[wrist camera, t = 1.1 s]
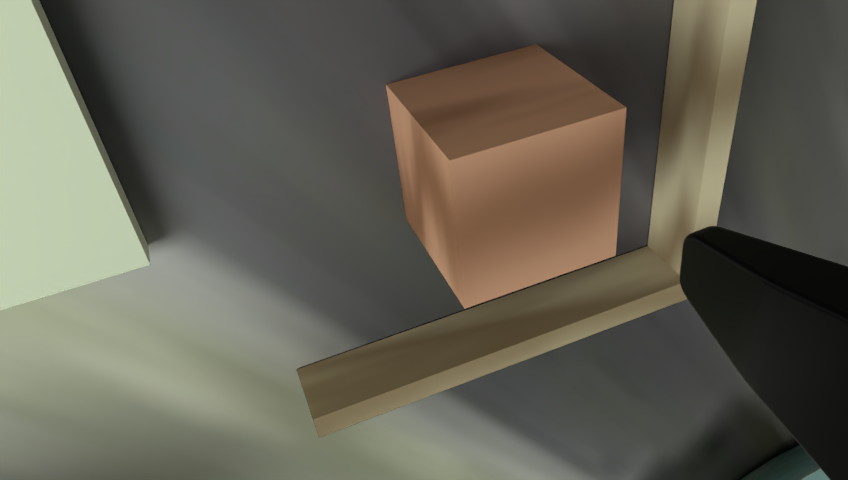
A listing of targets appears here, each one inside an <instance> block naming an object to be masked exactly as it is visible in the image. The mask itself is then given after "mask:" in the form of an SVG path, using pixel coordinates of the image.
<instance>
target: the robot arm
mask: <svg viewBox="0 0 848 480" xmlns="http://www.w3.org/2000/svg"><path fill="white" fill-rule="evenodd" d="M680 285H681V288H682V290H683V293H684V294H685V296H686V298H687V299H688V300H689V302H690V303H691V305H692V306H693V308H694V309H695V311H696V312H697V313H698V315H699V316H700V318H701V319H702V321H703V322H704V323H705V325H706V326H707V328H708V329H709V331H710V332H711V334H712V335H713V336H714V338H715V339H716V341H717V342H718V344H719V345H720V346H721V348H722V349H723V351H724V352H725V354H726V355H727V357H728V358H729V359H730V361H731V362H732V364H733V365H734V367H735V368H736V369H737V371H738V372H739V373H740V375H741V376H742V377H743V379H744V380H745V381H746V382H747V384H748V385H749V386H750V387H751V388H752V390H753V391H754V392H755V393H756V394H757V396H758V397H759V398H760V399H761V400H762V401H763V403H764V404H765V405H766V406H767V407H768V408H769V410H770V411H771V412H772V413H773V414H774V415H775V416H776V418H777V419H778V420H779V421H780V422H781V423H782V425H783V426H784V427H785V428H786V429H787V430H788V432H789V433H790V434H791V435H792V436H793V437H794V438H795V440H796V441H797V442H798V443H799V444H800V445H801V447H802V448H803V449H804V450H805V451H806V452H807V453H808V455H809V456H810V457H811V458H812V459H813V460H814V462H815V463H816V464H817V465H818V466H819V467H820V469H821V470H822V471H823V472H824V473H825V474H826V475H827V477H828V478H829V479H830V480H848V267H847V266H844V265H841V264H838V263H834V262H831V261H828V260H825V259H822V258H818V257H815V256H812V255H809V254H805V253H802V252H799V251H796V250H792V249H789V248H786V247H783V246H780V245H776V244H773V243H770V242H767V241H763V240H760V239H757V238H754V237H750V236H747V235H744V234H741V233H738V232H734V231H731V230H728V229H725V228H721V227H717V226H709V227H706V228H703V229H701V230H698V231H695V232H693V233H690V234H689V235H687V236H686V238H685V239H684V242H683V248H682V258H681V267H680Z"/></svg>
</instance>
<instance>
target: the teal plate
mask: <svg viewBox="0 0 848 480" xmlns="http://www.w3.org/2000/svg"><path fill="white" fill-rule="evenodd" d="M741 480H830V479H829V478H828V477H827V475H826V474H825V473H824V472H823V471H822V470H821V469H820V467H819V466H818V465H817V464H816V463H815V462H814V460H813V459H812V458H811V457H810V456H809V455H808V453H807V452H806V451H805V450H804V449H803V448H802V447H801V445H798V446H796V447H794V448H792V449H790V450H788V451H786V452H784V453H782V454H780V455H778V456H777V457H775V458H773V459H771V460H770V461H768V462H766V463H765V464H763V465H762V466H760V467H759V468H757V469H755V470H754V471H752V472H751V473H749V474H748V475H747V476H745V477H744V478H742V479H741Z"/></svg>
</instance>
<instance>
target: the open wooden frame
mask: <svg viewBox="0 0 848 480" xmlns="http://www.w3.org/2000/svg"><path fill="white" fill-rule="evenodd" d="M756 3H757V0H674V6H673V16H672V25H671V34H670V44H669V53H668V62H667V71H666V81H665V90H664V99H663V108H662V118H661V127H660V136H659V146H658V155H657V164H656V173H655V183H654V192H653V201H652V211H651V220H650V229H649V238H648V246H646V247H643V248H640V249H638V250H635V251H632V252H629V253H626V254H623V255H621V256H618V257H615V258H612V259H609V260H606V261H604V262H601V263H598V264H595V265H592V266H589V267H586V268H584V269H581V270H578V271H575V272H572V273H569V274H567V275H564V276H561V277H558V278H555V279H552V280H550V281H547V282H544V283H541V284H538V285H535V286H533V287H530V288H527V289H524V290H521V291H518V292H516V293H513V294H510V295H507V296H504V297H501V298H498V299H496V300H493V301H490V302H487V303H484V304H481V305H479V306H476V307H473V308H470V309H467V310H464V311H462V312H459V313H456V314H453V315H450V316H447V317H445V318H442V319H439V320H436V321H433V322H430V323H428V324H425V325H422V326H419V327H416V328H413V329H410V330H408V331H405V332H402V333H399V334H396V335H393V336H391V337H388V338H385V339H382V340H379V341H376V342H374V343H371V344H368V345H365V346H362V347H359V348H357V349H354V350H351V351H348V352H345V353H342V354H340V355H337V356H334V357H331V358H328V359H325V360H322V361H320V362H317V363H314V364H311V365H308V366H305V367H303V368H300V369H297V372H298V375H299V378H300V381H301V384H302V387H303V390H304V393H305V396H306V399H307V403H308V406H309V409H310V412H311V415H312V418H313V421H314V424H315V427H316V430H317V433H318V436H319V437H322V436H325V435H327V434H330V433H333V432H335V431H338V430H341V429H343V428H346V427H349V426H351V425H354V424H357V423H359V422H362V421H364V420H367V419H370V418H372V417H375V416H378V415H380V414H383V413H386V412H388V411H391V410H394V409H396V408H399V407H402V406H404V405H407V404H410V403H412V402H415V401H418V400H420V399H423V398H426V397H428V396H431V395H433V394H436V393H439V392H441V391H444V390H447V389H449V388H452V387H455V386H457V385H460V384H463V383H465V382H468V381H471V380H473V379H476V378H479V377H481V376H484V375H487V374H489V373H492V372H495V371H497V370H500V369H502V368H505V367H508V366H510V365H513V364H516V363H518V362H521V361H524V360H526V359H529V358H532V357H534V356H537V355H540V354H542V353H545V352H548V351H550V350H553V349H556V348H558V347H561V346H564V345H566V344H569V343H571V342H574V341H577V340H579V339H582V338H585V337H587V336H590V335H593V334H595V333H598V332H601V331H603V330H606V329H609V328H611V327H614V326H617V325H619V324H622V323H625V322H627V321H630V320H632V319H635V318H638V317H640V316H643V315H646V314H648V313H651V312H654V311H656V310H659V309H662V308H664V307H667V306H670V305H672V304H675V303H678V302H680V301H683V300H686V299H687V298H686V296H685V294H684V293H683V290H682V288H681V285H680V267H681V258H682V248H683V242H684V239H685V238H686V236H687V235H689V234H690V233H693V232H695V231H698V230H701V229H703V228H706V227H709V226H717V220H718V214H719V209H720V203H721V198H722V192H723V187H724V181H725V176H726V170H727V164H728V159H729V153H730V148H731V142H732V137H733V131H734V125H735V120H736V114H737V109H738V103H739V98H740V92H741V86H742V81H743V75H744V70H745V64H746V59H747V53H748V48H749V42H750V36H751V31H752V25H753V20H754V14H755V9H756Z"/></svg>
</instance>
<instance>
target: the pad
mask: <svg viewBox="0 0 848 480" xmlns="http://www.w3.org/2000/svg"><path fill="white" fill-rule="evenodd" d="M148 265H150V259H149V250H148V244H147V242H146V240H145V238H144V235H143V233H142V231H141V229H140V226H139V224H138V222H137V220H136V217H135V215H134V213H133V211H132V208H131V206H130V204H129V202H128V199H127V197H126V195H125V193H124V190H123V188H122V186H121V184H120V181H119V179H118V177H117V174H116V172H115V170H114V168H113V165H112V163H111V161H110V159H109V156H108V154H107V152H106V150H105V147H104V145H103V143H102V141H101V138H100V136H99V134H98V132H97V129H96V127H95V125H94V123H93V120H92V118H91V116H90V114H89V111H88V109H87V107H86V105H85V102H84V100H83V98H82V96H81V93H80V91H79V89H78V87H77V84H76V82H75V80H74V78H73V75H72V73H71V71H70V68H69V66H68V64H67V62H66V59H65V57H64V55H63V53H62V50H61V48H60V46H59V44H58V41H57V39H56V37H55V35H54V32H53V30H52V28H51V26H50V23H49V21H48V19H47V17H46V14H45V12H44V10H43V8H42V5H41V3H40V1H39V0H0V310H3V309H6V308H10V307H13V306H16V305H20V304H23V303H26V302H29V301H33V300H36V299H39V298H43V297H46V296H49V295H52V294H56V293H59V292H62V291H66V290H69V289H72V288H75V287H79V286H82V285H85V284H89V283H92V282H95V281H98V280H102V279H105V278H108V277H112V276H115V275H118V274H121V273H125V272H128V271H131V270H135V269H138V268H141V267H144V266H148Z"/></svg>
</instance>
